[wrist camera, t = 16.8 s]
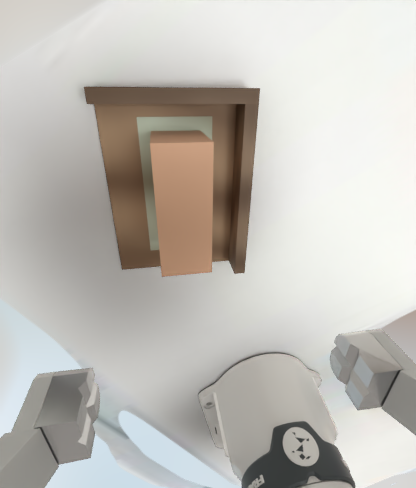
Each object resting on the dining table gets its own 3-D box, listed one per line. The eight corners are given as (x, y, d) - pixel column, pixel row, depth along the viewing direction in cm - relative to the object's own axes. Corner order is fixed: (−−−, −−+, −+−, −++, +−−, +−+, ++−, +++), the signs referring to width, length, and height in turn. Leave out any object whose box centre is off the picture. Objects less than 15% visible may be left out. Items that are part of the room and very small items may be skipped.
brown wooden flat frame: (236, 257, 30) (244, 272, 28) (122, 267, 28) (119, 284, 26) (248, 88, 23) (259, 88, 20) (92, 87, 21) (83, 86, 18)
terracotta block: (200, 130, 23) (213, 142, 18) (200, 238, 28) (211, 272, 23) (150, 131, 22) (149, 143, 17) (160, 241, 27) (161, 276, 22)
